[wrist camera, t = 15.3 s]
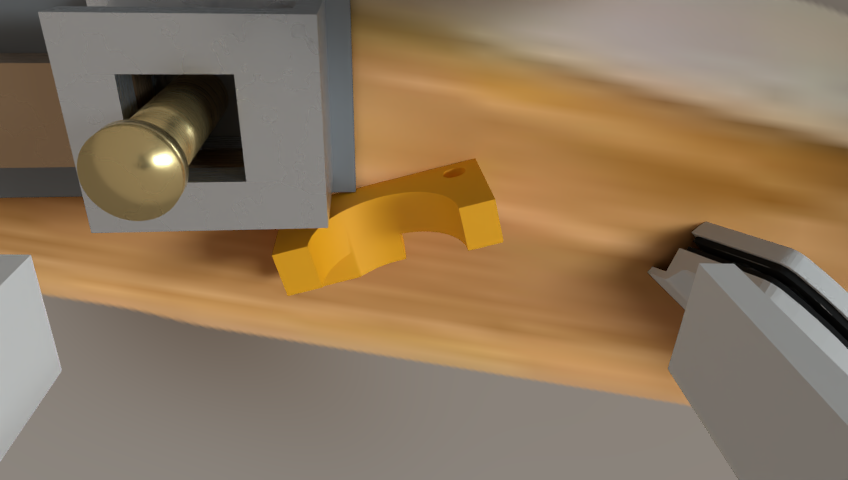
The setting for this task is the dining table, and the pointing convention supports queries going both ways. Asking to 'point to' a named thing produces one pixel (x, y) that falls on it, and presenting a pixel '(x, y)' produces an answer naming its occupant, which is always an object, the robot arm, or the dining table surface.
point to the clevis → (145, 77)
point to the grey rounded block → (769, 283)
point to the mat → (22, 33)
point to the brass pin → (151, 149)
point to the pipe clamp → (388, 225)
